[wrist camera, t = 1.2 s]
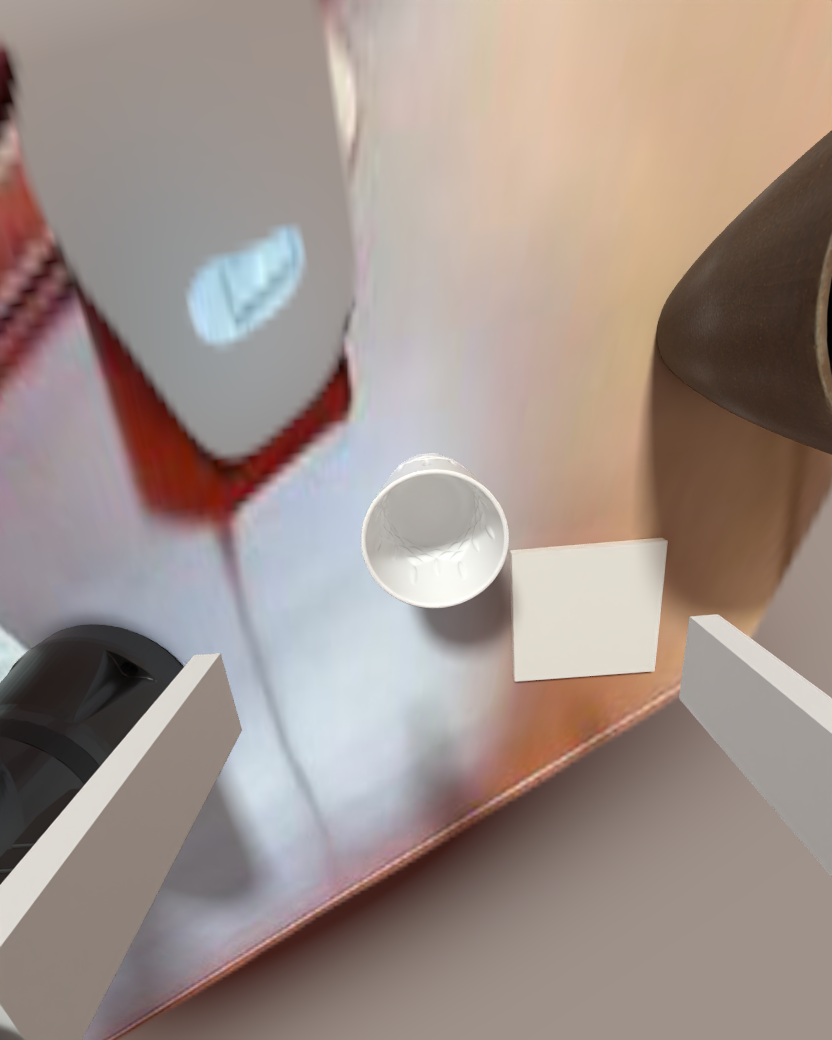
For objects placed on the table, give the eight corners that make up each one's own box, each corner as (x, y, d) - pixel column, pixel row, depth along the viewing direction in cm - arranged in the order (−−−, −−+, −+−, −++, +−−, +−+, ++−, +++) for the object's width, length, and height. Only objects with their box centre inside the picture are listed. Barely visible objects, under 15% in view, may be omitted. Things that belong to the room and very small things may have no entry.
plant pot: (839, 386, 28) (1324, 381, 13) (632, 471, 30) (848, 552, 15) (811, 148, 24) (1466, -257, 9) (572, 263, 26) (788, 85, 11)
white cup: (477, 439, 30) (505, 461, 20) (484, 539, 32) (512, 601, 23) (371, 451, 30) (349, 478, 20) (385, 549, 32) (372, 615, 23)
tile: (512, 675, 36) (514, 681, 35) (509, 550, 32) (511, 554, 32) (649, 665, 36) (654, 671, 35) (661, 537, 32) (667, 541, 31)
